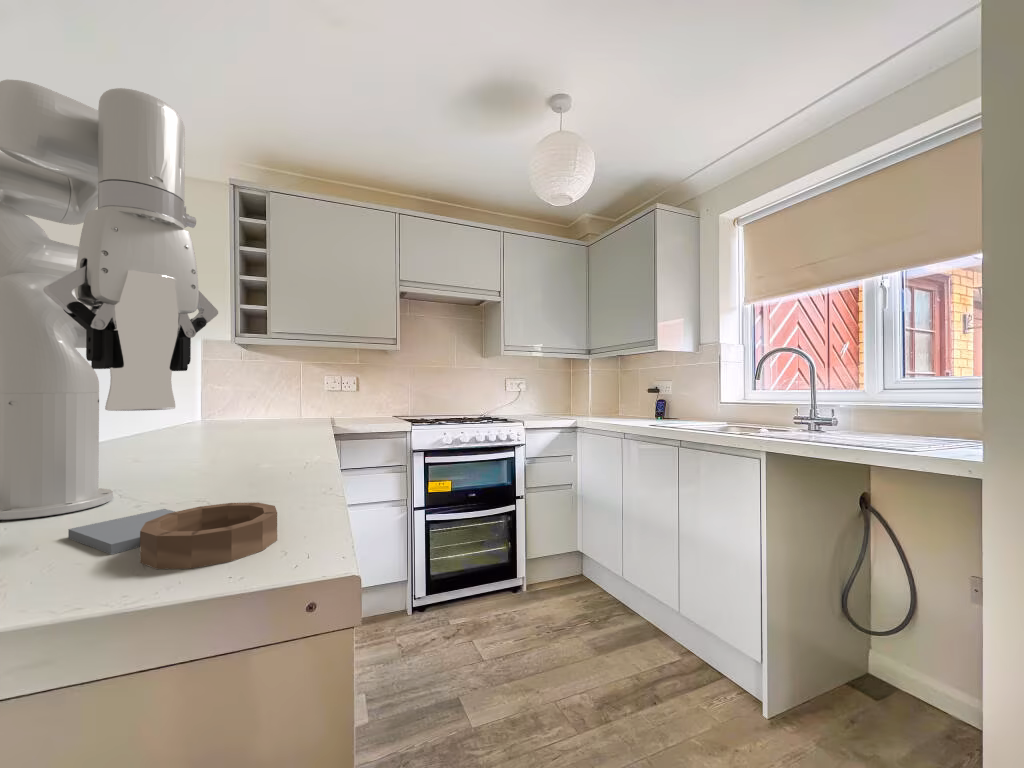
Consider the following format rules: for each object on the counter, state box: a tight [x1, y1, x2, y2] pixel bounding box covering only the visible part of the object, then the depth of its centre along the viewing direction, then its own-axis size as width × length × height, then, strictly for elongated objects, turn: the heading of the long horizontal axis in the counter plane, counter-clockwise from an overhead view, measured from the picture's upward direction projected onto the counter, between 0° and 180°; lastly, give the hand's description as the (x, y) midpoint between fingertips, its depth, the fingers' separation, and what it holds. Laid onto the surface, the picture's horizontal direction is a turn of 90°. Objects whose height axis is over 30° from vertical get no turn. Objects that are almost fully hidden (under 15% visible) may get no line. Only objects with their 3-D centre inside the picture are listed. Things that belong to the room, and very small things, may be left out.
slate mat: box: [67, 508, 176, 555], centre depth 50 cm, size 10×9×1 cm
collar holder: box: [139, 502, 278, 570], centre depth 46 cm, size 11×11×3 cm
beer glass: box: [104, 270, 181, 412], centre depth 50 cm, size 7×7×15 cm
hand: (142, 368), depth 50 cm, fingers closed on beer glass, 6 cm apart
